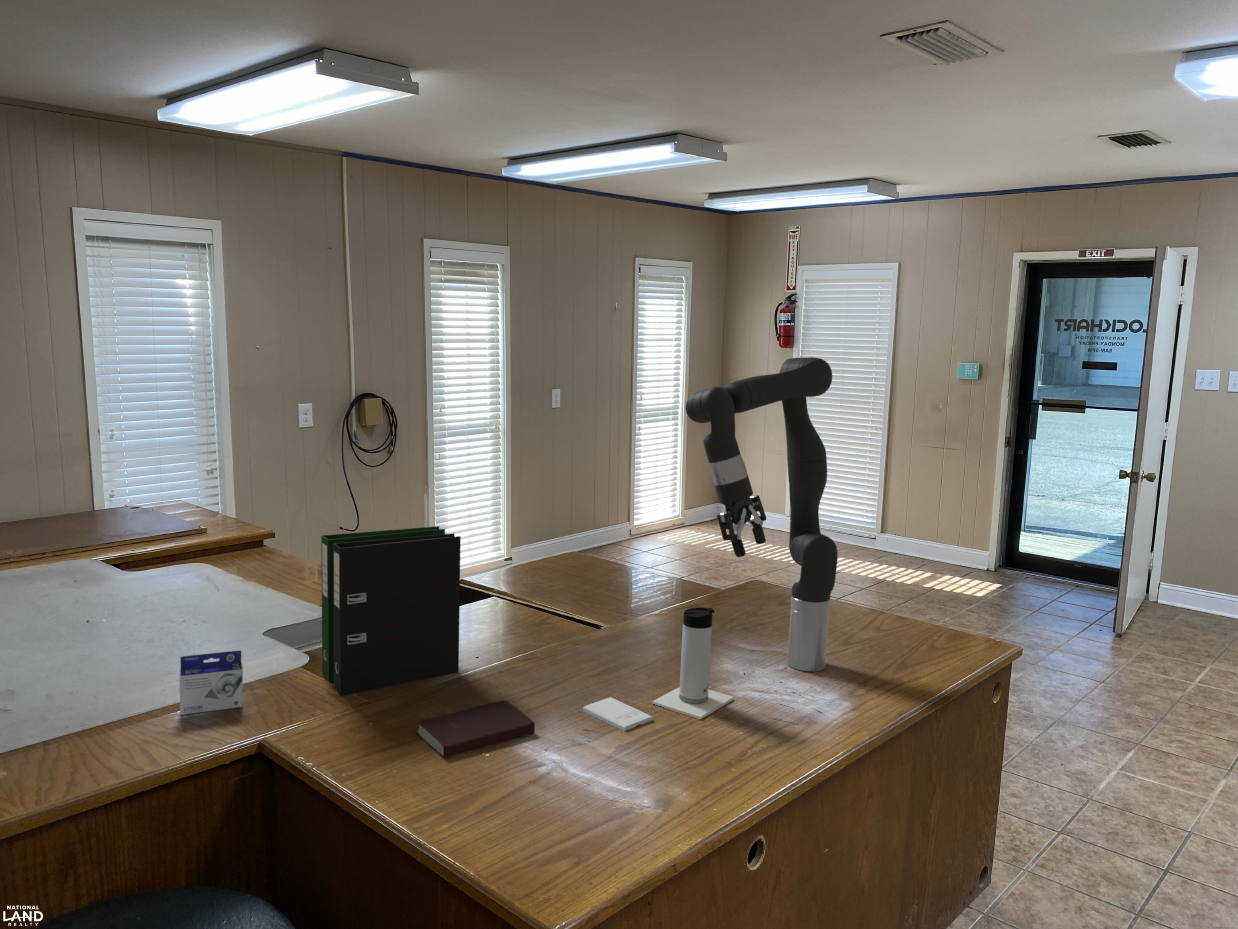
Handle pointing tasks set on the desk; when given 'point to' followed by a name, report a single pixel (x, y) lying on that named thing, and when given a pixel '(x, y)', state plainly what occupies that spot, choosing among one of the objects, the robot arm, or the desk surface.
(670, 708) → the white square pad
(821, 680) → the desk surface
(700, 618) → the travel mug
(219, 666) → the ink box
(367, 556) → the ring binders
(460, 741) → the book
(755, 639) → the desk surface
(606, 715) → the external hard drive
